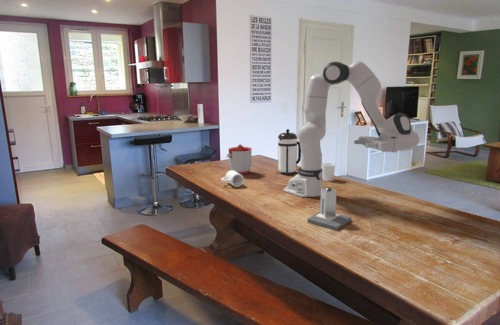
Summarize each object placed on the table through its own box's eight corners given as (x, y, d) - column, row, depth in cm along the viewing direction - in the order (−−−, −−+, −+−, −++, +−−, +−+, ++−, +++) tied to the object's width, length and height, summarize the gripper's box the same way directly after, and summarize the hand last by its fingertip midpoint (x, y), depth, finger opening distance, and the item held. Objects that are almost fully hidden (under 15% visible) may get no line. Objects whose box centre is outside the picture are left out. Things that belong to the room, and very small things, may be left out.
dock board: (307, 222, 152) (307, 218, 151) (322, 213, 162) (322, 209, 162) (336, 230, 143) (337, 226, 143) (351, 220, 153) (351, 216, 153)
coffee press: (299, 176, 226) (300, 130, 220) (274, 175, 229) (275, 130, 223) (300, 169, 243) (301, 127, 236) (278, 169, 246) (278, 127, 239)
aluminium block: (319, 214, 157) (320, 186, 154) (330, 212, 158) (331, 186, 155) (324, 218, 152) (325, 190, 149) (335, 216, 153) (336, 189, 150)
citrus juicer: (223, 171, 240) (223, 143, 235) (247, 169, 246) (247, 141, 241) (230, 177, 225) (230, 147, 221) (255, 174, 231) (255, 145, 227)
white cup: (325, 182, 213) (325, 166, 210) (319, 178, 220) (319, 163, 218) (336, 181, 215) (337, 165, 212) (330, 177, 222) (331, 162, 220)
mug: (237, 181, 215) (237, 169, 213) (244, 186, 206) (243, 173, 204) (219, 184, 210) (218, 171, 208) (225, 188, 201) (224, 175, 200)
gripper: (374, 132, 173) (349, 134, 170) (400, 139, 154) (373, 140, 151) (373, 145, 175) (348, 146, 171) (399, 153, 155) (372, 154, 152)
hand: (360, 143), depth 161 cm, fingers open, 8 cm apart
